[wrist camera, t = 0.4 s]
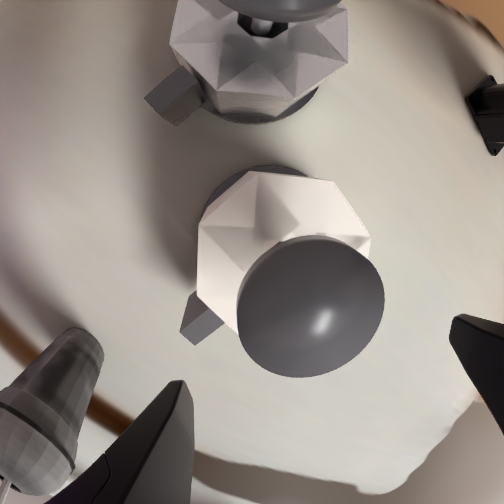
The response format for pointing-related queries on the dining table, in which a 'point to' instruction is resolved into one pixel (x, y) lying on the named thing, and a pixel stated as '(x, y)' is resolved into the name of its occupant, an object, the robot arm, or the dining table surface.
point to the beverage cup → (47, 414)
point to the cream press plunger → (308, 306)
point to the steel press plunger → (280, 11)
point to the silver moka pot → (247, 63)
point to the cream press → (259, 235)
